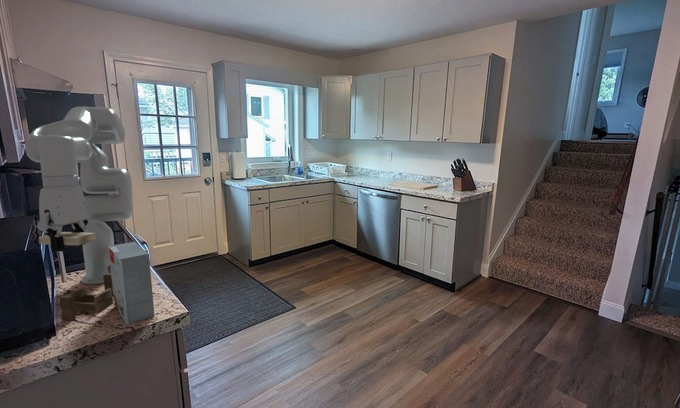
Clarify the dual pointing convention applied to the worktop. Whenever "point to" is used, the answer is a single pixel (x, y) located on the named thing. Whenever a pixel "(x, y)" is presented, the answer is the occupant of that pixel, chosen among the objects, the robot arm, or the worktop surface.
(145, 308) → the hard drive box
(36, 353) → the worktop surface
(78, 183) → the robot arm
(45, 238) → the lid
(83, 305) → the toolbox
